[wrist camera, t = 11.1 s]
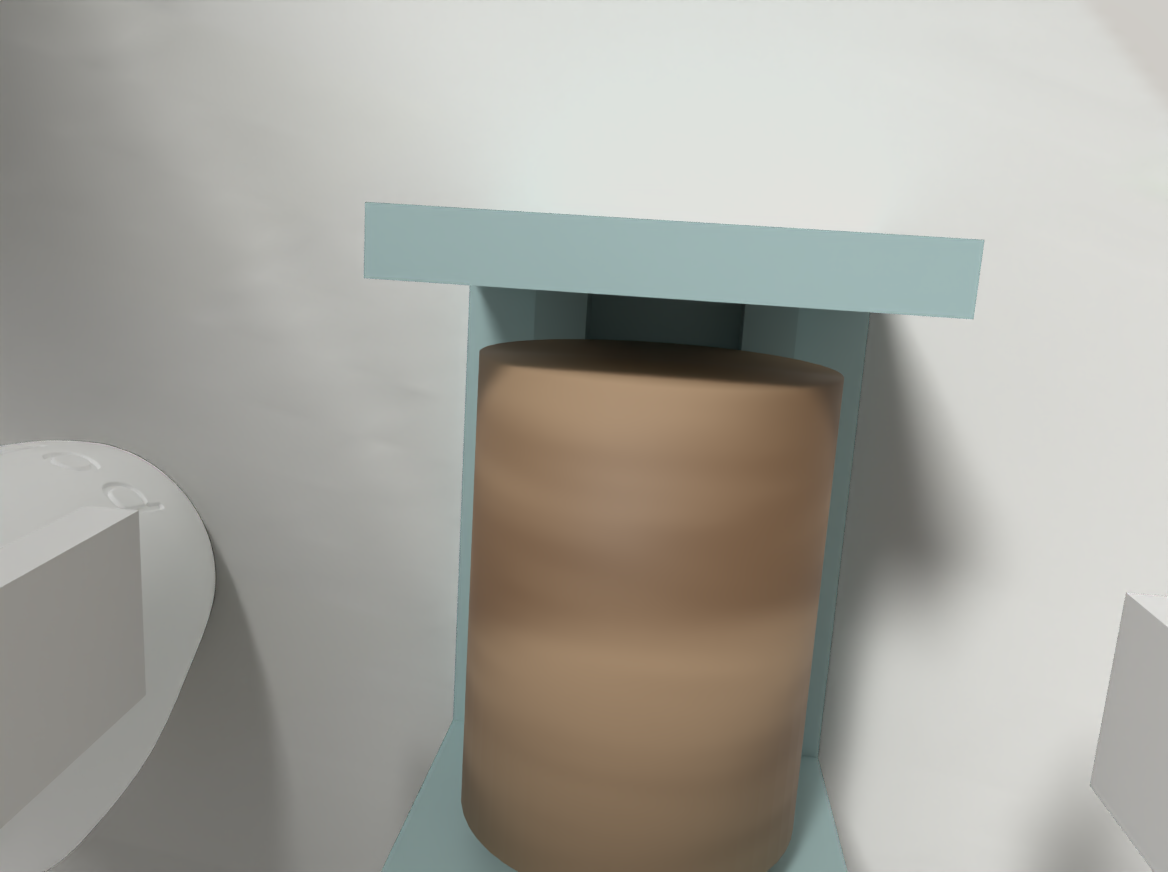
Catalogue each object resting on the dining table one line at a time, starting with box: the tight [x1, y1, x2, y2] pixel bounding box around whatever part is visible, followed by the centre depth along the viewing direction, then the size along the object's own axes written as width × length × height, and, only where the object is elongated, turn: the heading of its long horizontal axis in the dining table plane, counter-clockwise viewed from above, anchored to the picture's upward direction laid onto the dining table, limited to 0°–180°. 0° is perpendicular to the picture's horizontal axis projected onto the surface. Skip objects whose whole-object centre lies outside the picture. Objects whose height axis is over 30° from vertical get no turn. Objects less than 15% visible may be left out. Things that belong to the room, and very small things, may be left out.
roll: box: [461, 339, 844, 872], centre depth 18 cm, size 8×6×6 cm
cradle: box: [364, 202, 984, 872], centre depth 18 cm, size 12×8×8 cm, turn 177°
